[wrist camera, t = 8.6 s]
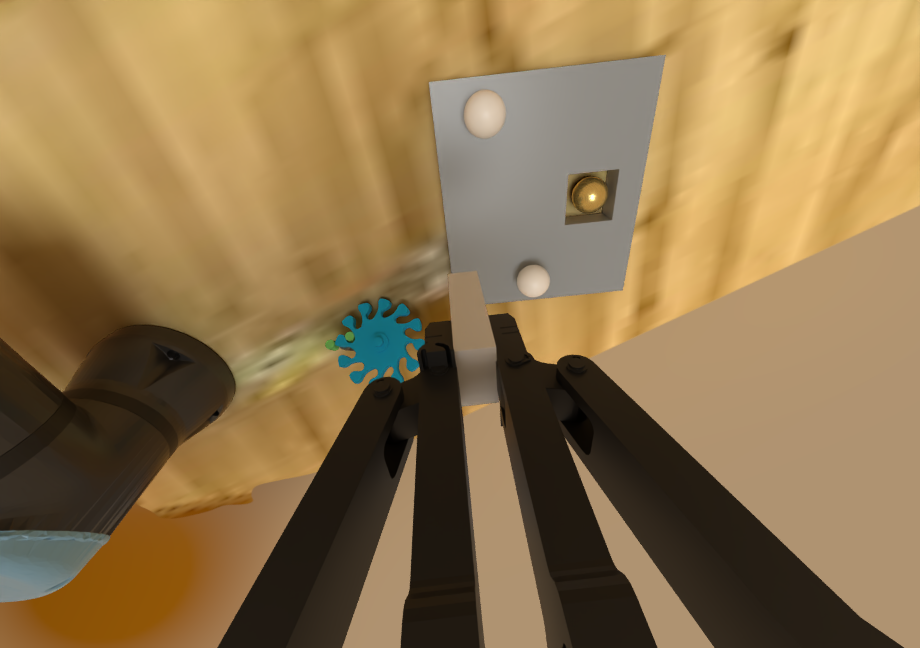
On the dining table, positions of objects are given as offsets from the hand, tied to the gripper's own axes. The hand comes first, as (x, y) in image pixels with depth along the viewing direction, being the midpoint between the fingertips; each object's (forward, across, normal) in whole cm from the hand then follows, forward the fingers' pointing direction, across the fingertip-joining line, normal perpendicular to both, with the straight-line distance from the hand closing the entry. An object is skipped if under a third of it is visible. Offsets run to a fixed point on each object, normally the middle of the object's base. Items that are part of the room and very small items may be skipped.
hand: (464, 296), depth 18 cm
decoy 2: (+15, -3, -8) cm, 17 cm away
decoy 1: (+14, -7, +7) cm, 18 cm away
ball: (+17, -13, 0) cm, 21 cm away
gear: (+19, +10, +13) cm, 25 cm away
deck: (+19, -8, 0) cm, 20 cm away
